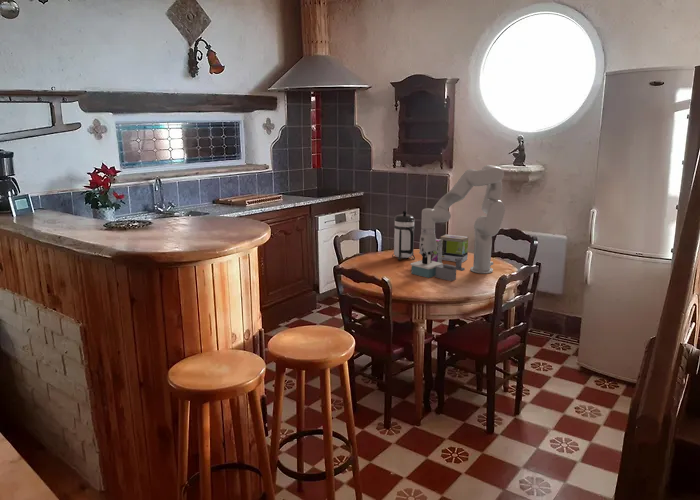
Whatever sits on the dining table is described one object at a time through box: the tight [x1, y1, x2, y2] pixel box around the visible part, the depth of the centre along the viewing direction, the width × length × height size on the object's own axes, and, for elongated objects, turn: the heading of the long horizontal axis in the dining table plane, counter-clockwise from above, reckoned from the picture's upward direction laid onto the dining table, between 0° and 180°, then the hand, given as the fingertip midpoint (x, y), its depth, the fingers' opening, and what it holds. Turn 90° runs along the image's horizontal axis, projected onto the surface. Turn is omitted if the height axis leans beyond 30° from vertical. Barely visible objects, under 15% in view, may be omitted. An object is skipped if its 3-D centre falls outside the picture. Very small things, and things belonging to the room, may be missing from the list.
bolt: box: [443, 257, 466, 272], centre depth 294 cm, size 5×12×6 cm, turn 46°
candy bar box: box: [424, 238, 443, 263], centre depth 323 cm, size 11×5×16 cm, turn 47°
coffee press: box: [391, 210, 416, 262], centre depth 338 cm, size 17×16×30 cm
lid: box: [410, 254, 444, 269], centre depth 307 cm, size 13×13×6 cm
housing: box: [410, 264, 457, 282], centre depth 304 cm, size 12×24×6 cm, turn 46°
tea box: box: [439, 234, 469, 263], centre depth 337 cm, size 15×10×15 cm
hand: (426, 262), depth 307 cm, fingers closed on lid, 3 cm apart
